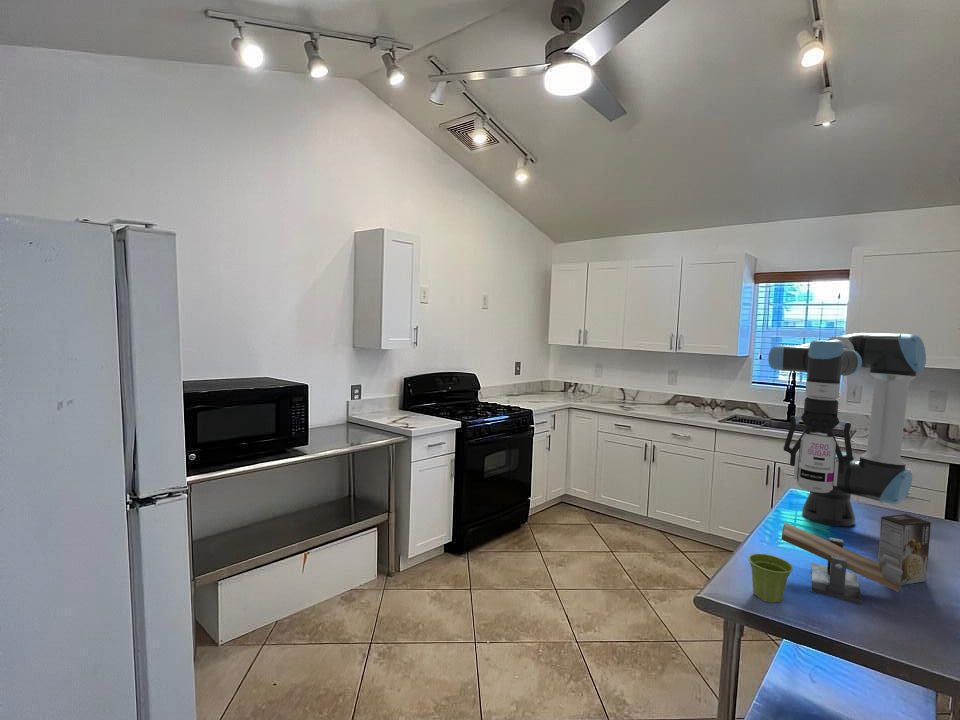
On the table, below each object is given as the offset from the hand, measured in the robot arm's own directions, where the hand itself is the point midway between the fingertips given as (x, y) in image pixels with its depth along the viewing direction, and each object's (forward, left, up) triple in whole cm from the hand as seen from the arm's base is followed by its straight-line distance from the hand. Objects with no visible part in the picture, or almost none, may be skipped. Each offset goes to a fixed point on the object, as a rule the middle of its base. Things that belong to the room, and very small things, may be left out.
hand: (814, 481), depth 138 cm
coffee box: (-8, +21, -24) cm, 33 cm away
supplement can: (0, 0, -2) cm, 2 cm away
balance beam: (+7, +6, -16) cm, 19 cm away
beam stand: (+7, +6, -24) cm, 26 cm away
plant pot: (+24, -8, -24) cm, 35 cm away
